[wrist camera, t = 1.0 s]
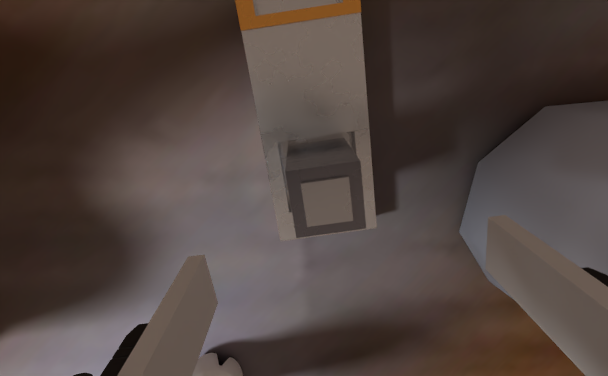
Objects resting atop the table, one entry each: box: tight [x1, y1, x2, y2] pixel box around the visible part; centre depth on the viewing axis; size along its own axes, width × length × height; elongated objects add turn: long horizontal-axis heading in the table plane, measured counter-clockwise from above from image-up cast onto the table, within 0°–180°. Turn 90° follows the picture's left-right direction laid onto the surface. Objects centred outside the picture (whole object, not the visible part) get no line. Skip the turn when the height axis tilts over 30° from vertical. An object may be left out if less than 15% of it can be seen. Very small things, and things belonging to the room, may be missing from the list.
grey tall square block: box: [285, 137, 366, 238], centre depth 26 cm, size 5×5×8 cm
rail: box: [235, 0, 377, 241], centre depth 27 cm, size 9×28×3 cm, turn 8°
